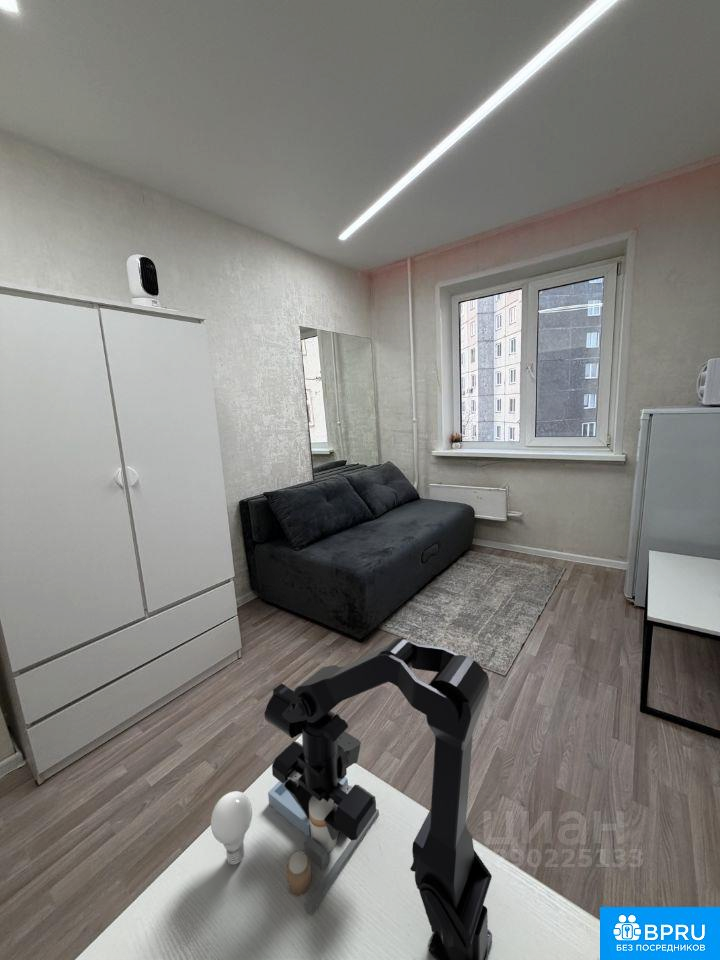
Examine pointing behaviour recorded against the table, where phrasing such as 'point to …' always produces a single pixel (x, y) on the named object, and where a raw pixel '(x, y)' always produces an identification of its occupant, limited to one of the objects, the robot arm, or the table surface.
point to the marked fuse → (321, 822)
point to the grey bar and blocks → (320, 860)
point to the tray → (292, 806)
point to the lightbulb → (232, 823)
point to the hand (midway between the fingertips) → (322, 827)
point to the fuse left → (298, 873)
